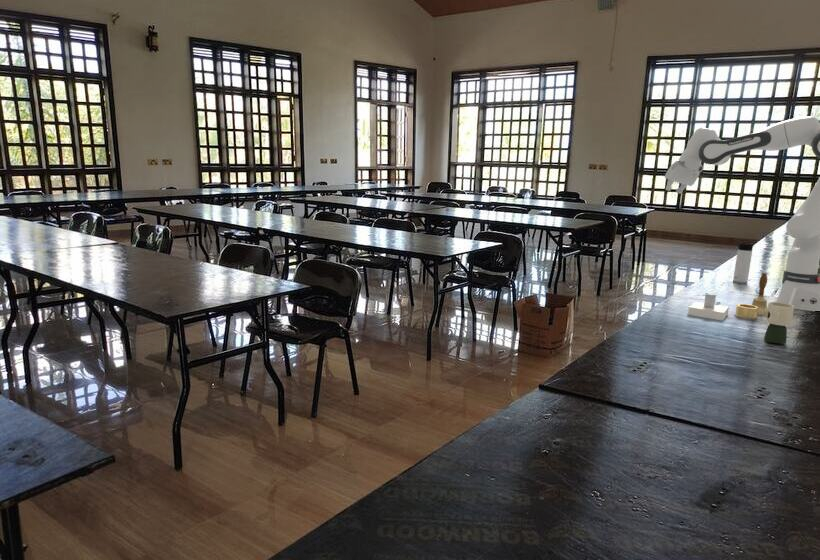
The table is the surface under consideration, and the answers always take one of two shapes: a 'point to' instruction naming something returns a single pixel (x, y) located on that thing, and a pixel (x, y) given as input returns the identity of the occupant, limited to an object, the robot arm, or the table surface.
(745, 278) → the travel mug
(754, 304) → the hand bell
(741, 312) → the brass ring
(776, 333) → the character mug
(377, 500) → the table surface
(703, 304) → the block
